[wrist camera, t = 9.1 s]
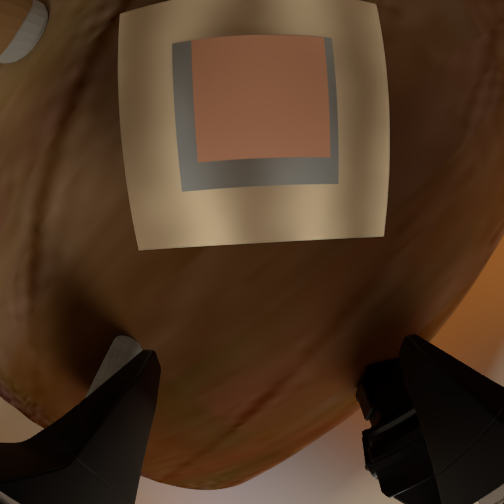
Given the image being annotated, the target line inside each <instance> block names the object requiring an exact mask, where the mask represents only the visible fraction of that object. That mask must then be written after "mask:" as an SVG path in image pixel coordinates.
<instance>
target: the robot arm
mask: <svg viewBox="0 0 504 504" xmlns="http://www.w3.org/2000/svg"><path fill="white" fill-rule="evenodd" d="M160 374H161V367H160V364H159V361H158V358H157V355H156V353H155V351H154V350H142V351H141V352H140V353H139V354H137V355H136V356H135V357H134V358H133V359H131V360H130V361H129V362H128V363H127V364H125V365H124V366H123V367H122V368H121V369H119V370H118V371H117V372H116V373H115V374H114V375H112V376H111V377H110V378H109V379H108V380H106V381H105V382H104V383H103V384H102V385H100V386H99V387H98V388H97V389H96V390H94V391H93V392H92V393H91V394H90V395H88V396H87V397H86V398H85V399H84V400H82V401H81V402H80V403H79V405H76V406H75V407H74V408H73V409H71V410H70V411H69V412H68V413H66V414H65V415H64V416H63V417H61V418H60V419H58V420H57V421H56V422H54V423H53V424H51V425H50V426H48V427H47V428H45V429H44V430H42V431H41V432H39V433H37V434H36V435H34V436H33V437H31V438H30V439H28V440H26V441H23V442H18V443H0V504H135V499H136V494H137V489H138V484H139V479H140V474H141V469H142V465H143V460H144V456H145V451H146V447H147V442H148V438H149V434H150V430H151V426H152V421H153V417H154V413H155V409H156V403H157V395H158V388H159V381H160ZM356 395H357V396H356V400H357V401H359V403H360V406H361V409H362V412H363V415H364V418H365V420H367V421H368V420H370V423H371V426H372V427H371V428H369V429H366V430H364V431H362V435H363V437H362V442H363V449H364V456H365V469H366V470H368V471H370V472H371V474H372V476H373V477H374V478H375V479H378V480H379V483H380V487H381V491H382V493H384V494H385V495H386V496H387V497H389V498H390V497H394V498H395V499H397V500H399V501H400V502H402V503H404V504H473V503H475V502H477V501H478V502H479V504H504V387H503V386H501V385H499V384H497V383H495V382H494V381H492V380H490V379H489V378H487V377H485V376H484V375H482V374H480V373H479V372H477V371H475V370H474V369H472V368H471V367H468V366H467V365H466V364H464V363H462V362H461V361H459V360H457V359H456V358H454V357H452V356H451V355H449V354H447V353H446V352H444V351H443V350H441V349H439V348H438V347H436V346H434V345H432V344H431V343H429V342H428V341H426V340H424V339H423V338H421V337H419V336H417V335H416V334H412V335H407V336H406V337H405V338H404V340H403V343H402V346H401V348H400V351H399V359H395V360H391V361H386V362H381V363H376V364H371V365H369V366H367V368H366V370H365V373H364V376H363V379H362V381H361V383H360V385H359V388H358V391H357V394H356Z"/></svg>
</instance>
